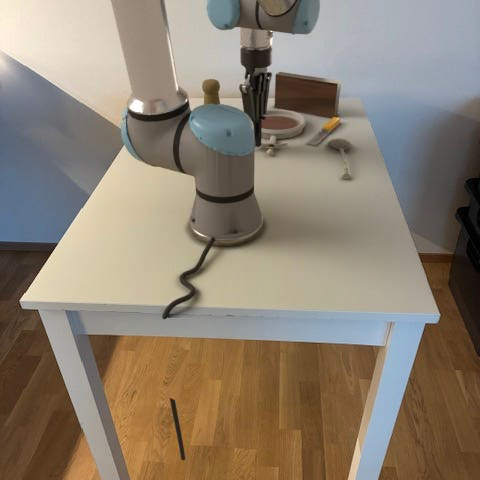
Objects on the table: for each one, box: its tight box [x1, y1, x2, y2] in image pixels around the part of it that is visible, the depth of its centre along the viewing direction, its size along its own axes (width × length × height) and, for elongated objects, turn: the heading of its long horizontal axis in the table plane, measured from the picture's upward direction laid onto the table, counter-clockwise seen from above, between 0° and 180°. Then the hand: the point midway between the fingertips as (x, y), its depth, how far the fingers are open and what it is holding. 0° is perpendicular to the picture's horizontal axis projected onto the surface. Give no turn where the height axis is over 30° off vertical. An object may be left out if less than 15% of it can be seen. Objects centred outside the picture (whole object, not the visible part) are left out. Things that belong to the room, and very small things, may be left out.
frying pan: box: [260, 108, 307, 156], centre depth 136 cm, size 17×3×28 cm
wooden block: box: [274, 71, 342, 119], centre depth 148 cm, size 3×20×10 cm, turn 60°
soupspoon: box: [327, 137, 353, 180], centre depth 124 cm, size 22×3×7 cm
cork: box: [201, 78, 221, 105], centre depth 144 cm, size 6×6×11 cm
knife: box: [308, 116, 341, 147], centre depth 137 cm, size 18×2×2 cm, turn 151°
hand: (255, 145), depth 129 cm, fingers closed
